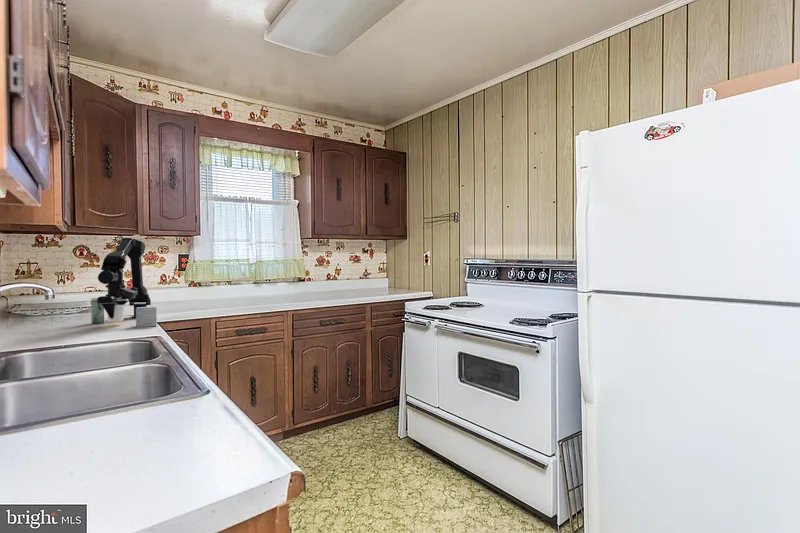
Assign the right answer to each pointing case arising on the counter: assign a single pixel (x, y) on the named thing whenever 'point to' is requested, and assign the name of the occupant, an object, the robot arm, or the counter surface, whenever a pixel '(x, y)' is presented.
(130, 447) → the counter surface
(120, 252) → the robot arm
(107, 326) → the kraft envelope
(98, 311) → the tea tin
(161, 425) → the counter surface
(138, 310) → the medicine box
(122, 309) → the shot glass
